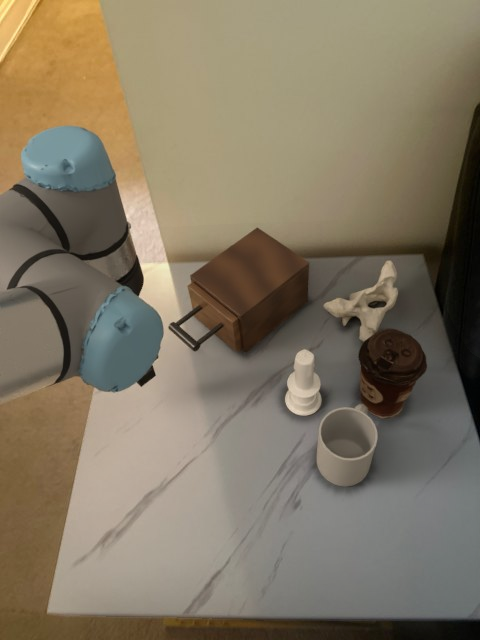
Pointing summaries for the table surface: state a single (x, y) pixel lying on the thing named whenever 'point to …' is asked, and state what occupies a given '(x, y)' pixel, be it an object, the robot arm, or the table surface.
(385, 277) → the bone
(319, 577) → the table surface
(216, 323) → the drawer
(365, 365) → the coffee cup
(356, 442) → the cup
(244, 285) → the cabinet
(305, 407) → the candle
